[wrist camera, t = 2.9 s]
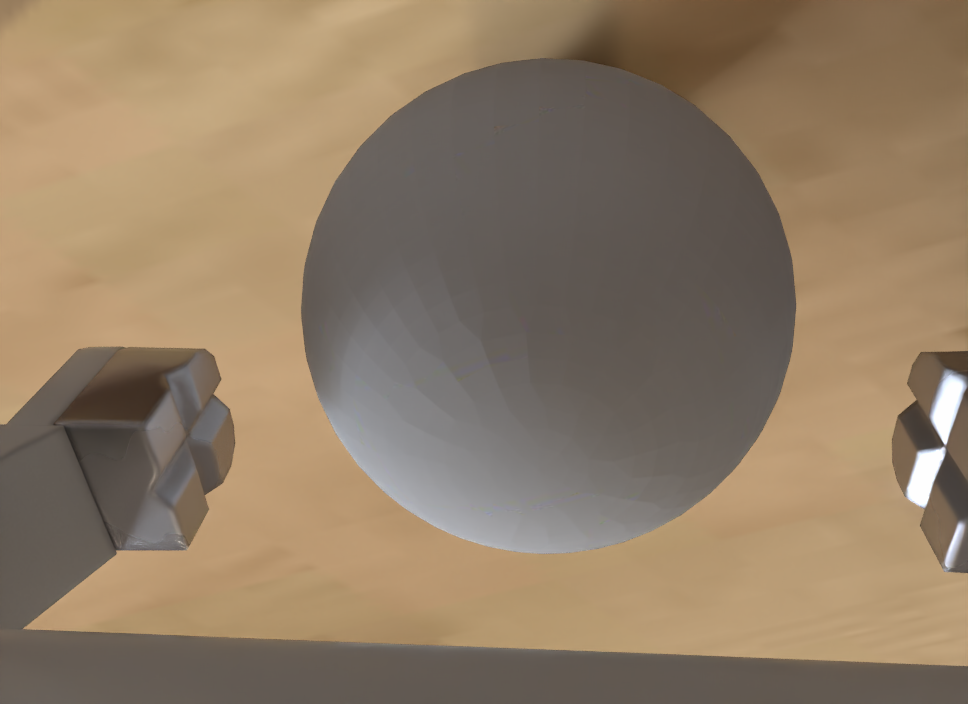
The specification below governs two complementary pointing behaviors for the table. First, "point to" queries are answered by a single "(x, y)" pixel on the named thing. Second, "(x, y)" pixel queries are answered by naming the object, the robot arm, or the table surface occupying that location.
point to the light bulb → (548, 306)
